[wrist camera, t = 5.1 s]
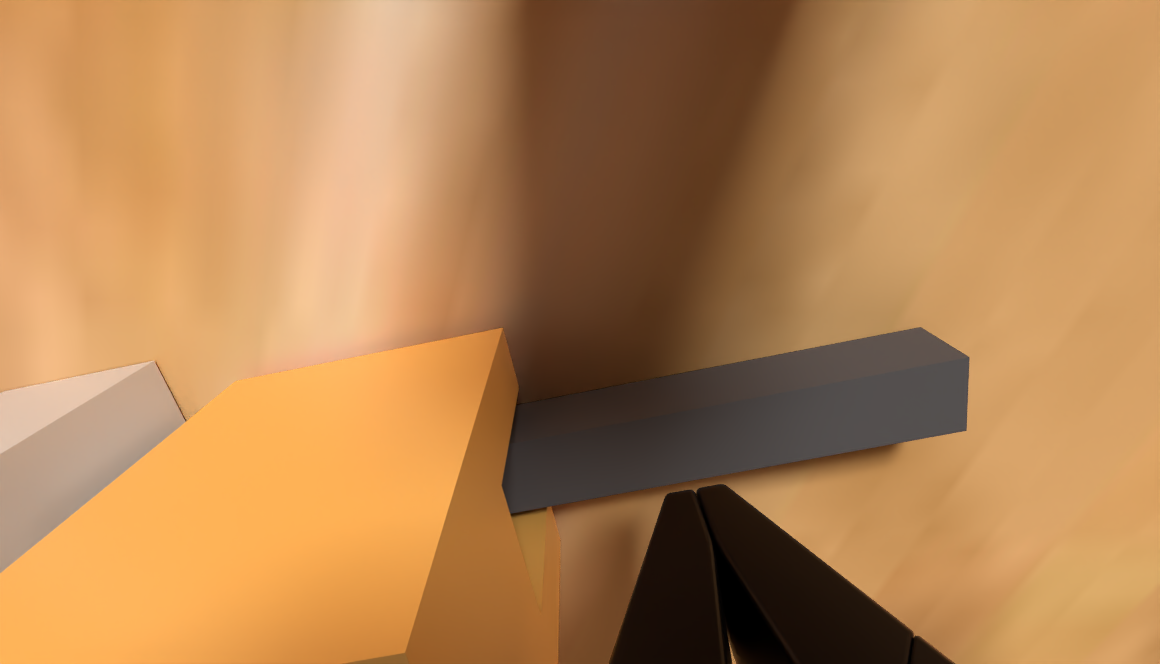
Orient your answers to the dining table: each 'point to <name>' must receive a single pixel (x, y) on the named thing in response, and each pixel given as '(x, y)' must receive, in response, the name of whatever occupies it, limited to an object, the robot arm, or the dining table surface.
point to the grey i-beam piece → (74, 445)
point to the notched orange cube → (308, 530)
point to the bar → (735, 418)
